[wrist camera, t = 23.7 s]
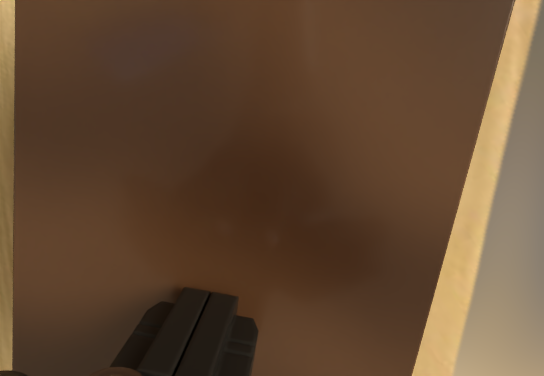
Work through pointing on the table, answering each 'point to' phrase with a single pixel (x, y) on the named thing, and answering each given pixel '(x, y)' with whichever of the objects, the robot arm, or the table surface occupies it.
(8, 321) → the table surface
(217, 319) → the robot arm
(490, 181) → the table surface
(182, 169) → the lid
